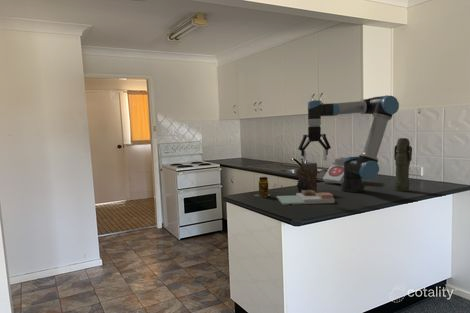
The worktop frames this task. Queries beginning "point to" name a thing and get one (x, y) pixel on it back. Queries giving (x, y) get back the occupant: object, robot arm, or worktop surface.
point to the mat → (289, 200)
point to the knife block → (307, 177)
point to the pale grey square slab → (314, 199)
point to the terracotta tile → (325, 195)
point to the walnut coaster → (308, 192)
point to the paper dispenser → (335, 171)
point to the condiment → (263, 187)
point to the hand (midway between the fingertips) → (314, 161)
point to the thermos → (402, 164)
